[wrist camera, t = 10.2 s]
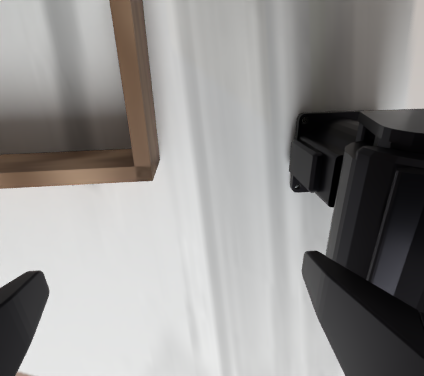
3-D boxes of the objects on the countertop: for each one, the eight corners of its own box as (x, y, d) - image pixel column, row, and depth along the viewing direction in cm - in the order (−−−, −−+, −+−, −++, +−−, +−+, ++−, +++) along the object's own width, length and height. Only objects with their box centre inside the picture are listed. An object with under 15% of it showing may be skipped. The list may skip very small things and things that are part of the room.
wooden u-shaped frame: (141, -9, 16) (125, -36, 12) (159, 159, 21) (152, 180, 17) (-135, -7, 16) (-248, -34, 11) (-54, 169, 20) (-116, 194, 16)
